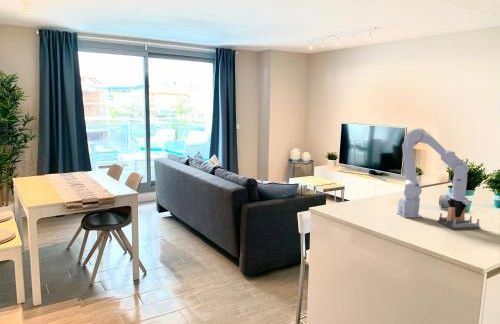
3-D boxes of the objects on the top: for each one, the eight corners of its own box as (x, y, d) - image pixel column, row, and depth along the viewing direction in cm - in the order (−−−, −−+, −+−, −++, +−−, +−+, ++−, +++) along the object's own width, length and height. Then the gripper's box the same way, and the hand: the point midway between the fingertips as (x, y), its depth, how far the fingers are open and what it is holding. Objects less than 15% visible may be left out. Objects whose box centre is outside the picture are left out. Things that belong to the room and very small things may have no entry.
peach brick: (450, 222, 178) (451, 208, 177) (446, 221, 181) (448, 207, 180) (463, 222, 179) (465, 208, 178) (460, 221, 182) (461, 206, 181)
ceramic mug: (440, 205, 214) (442, 192, 213) (457, 208, 209) (458, 194, 208) (436, 209, 206) (437, 195, 205) (452, 212, 201) (454, 198, 200)
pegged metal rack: (452, 229, 171) (454, 220, 171) (437, 222, 182) (438, 213, 182) (480, 229, 174) (481, 219, 173) (463, 221, 184) (464, 212, 184)
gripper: (478, 191, 171) (474, 220, 173) (456, 184, 185) (453, 211, 187) (464, 191, 170) (460, 220, 172) (443, 184, 184) (440, 211, 186)
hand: (455, 216), depth 180 cm, fingers closed on peach brick, 2 cm apart
